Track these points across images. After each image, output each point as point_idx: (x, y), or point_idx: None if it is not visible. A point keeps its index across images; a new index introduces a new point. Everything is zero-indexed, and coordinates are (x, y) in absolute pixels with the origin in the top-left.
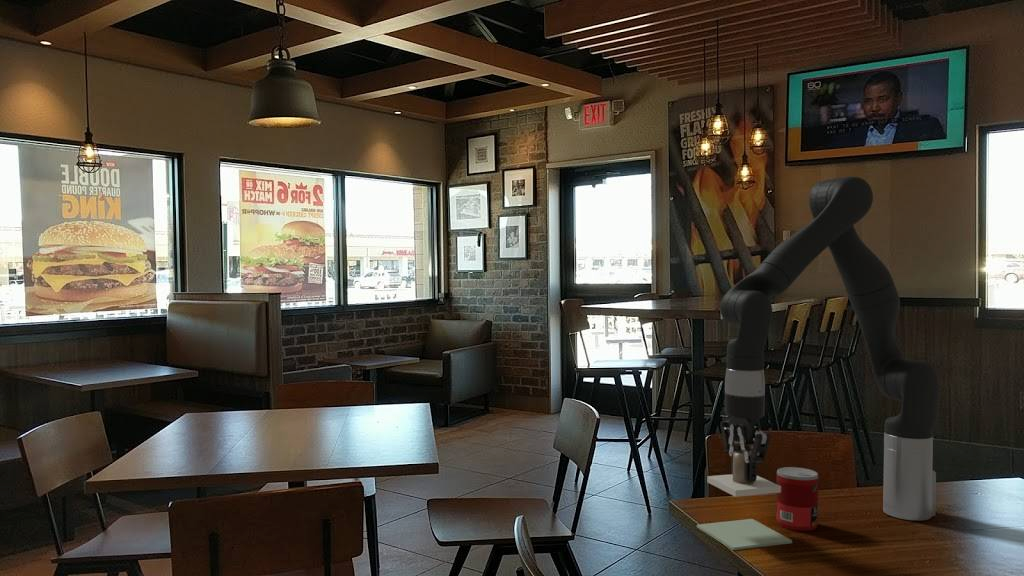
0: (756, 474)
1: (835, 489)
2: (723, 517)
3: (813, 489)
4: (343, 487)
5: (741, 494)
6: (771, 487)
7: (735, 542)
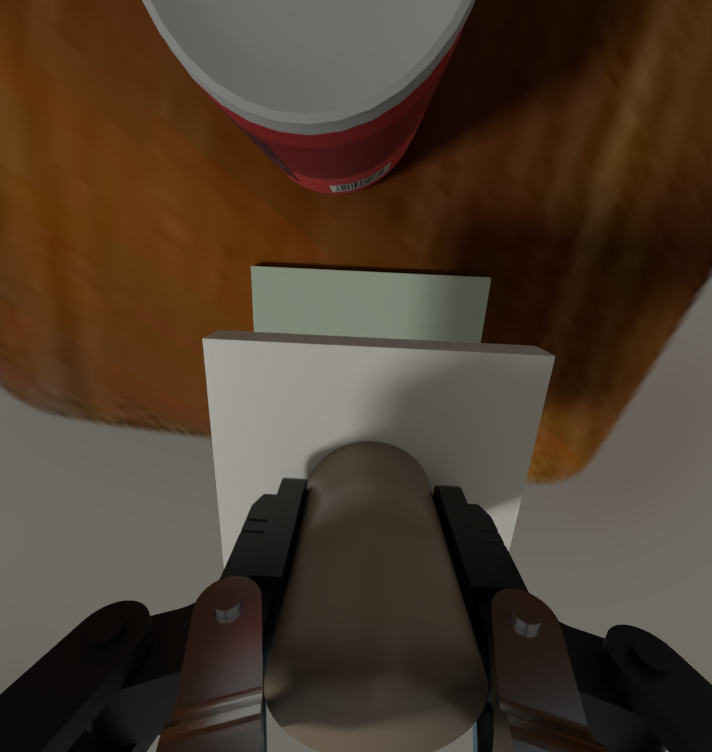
0: (495, 530)
1: None
2: (193, 340)
3: None
4: None
5: None
6: (539, 422)
7: None
